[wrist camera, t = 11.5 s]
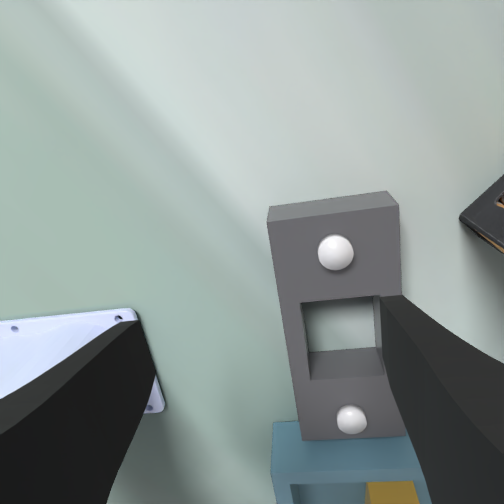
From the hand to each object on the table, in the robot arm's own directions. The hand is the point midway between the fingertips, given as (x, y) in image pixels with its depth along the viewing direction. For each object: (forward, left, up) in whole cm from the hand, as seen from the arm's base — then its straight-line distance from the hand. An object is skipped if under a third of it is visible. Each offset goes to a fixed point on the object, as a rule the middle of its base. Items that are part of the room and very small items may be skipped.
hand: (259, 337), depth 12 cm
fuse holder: (+3, -6, -10) cm, 12 cm away
